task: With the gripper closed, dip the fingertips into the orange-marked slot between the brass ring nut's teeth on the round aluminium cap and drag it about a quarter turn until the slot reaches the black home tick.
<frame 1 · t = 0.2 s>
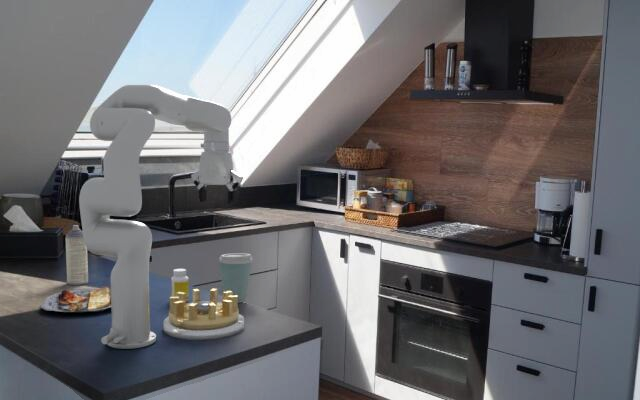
hand: (217, 202, 223), 31 cm above the worktop, tool pointing down, fingers open, 9 cm apart
supplement bottle: (180, 301, 225), on the worktop
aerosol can: (77, 283, 246), on the worktop
disposable coffee cup: (236, 300, 226), on the worktop
cap housing: (204, 327, 198), on the worktop
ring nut: (204, 308, 198), point 5 cm above the worktop, hinge at 0.0°
food plate: (84, 306, 219), on the worktop
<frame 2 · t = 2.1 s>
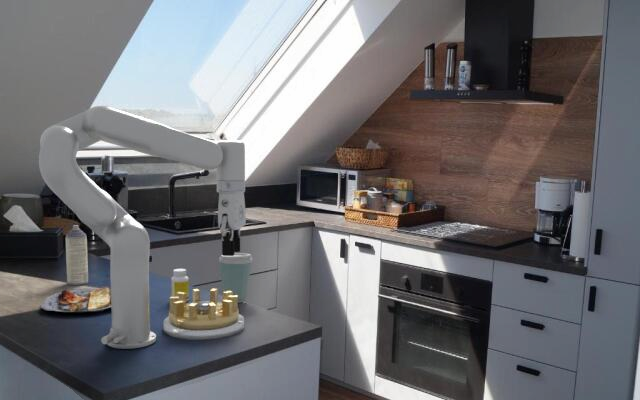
hand: (231, 252, 194), 21 cm above the worktop, tool pointing down, fingers open, 4 cm apart
nothing on the worktop moved.
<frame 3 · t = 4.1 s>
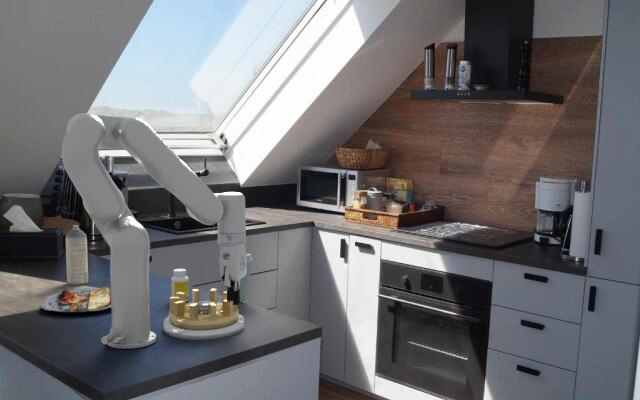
hand: (233, 303, 196), 7 cm above the worktop, tool pointing down, fingers closed
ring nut: (204, 308, 198), point 5 cm above the worktop, hinge at 1.1°, touching gripper
everything else where it was.
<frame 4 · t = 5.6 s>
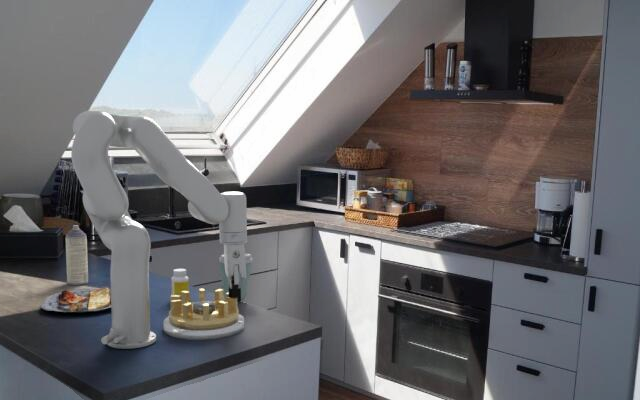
hand: (234, 301, 200), 7 cm above the worktop, tool pointing down, fingers closed
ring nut: (204, 308, 198), point 5 cm above the worktop, hinge at 24.4°, touching gripper
everything else where it was.
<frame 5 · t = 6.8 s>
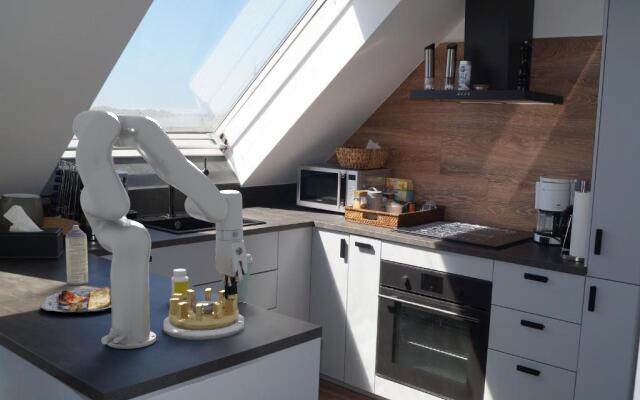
hand: (231, 298, 203), 7 cm above the worktop, tool pointing down, fingers closed
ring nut: (204, 308, 198), point 5 cm above the worktop, hinge at 47.9°, touching gripper
everything else where it was.
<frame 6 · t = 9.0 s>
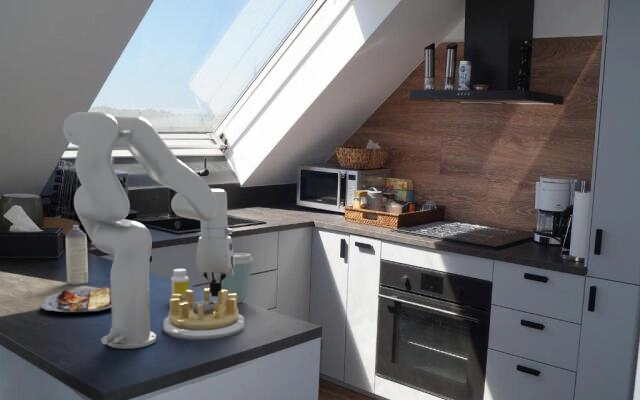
hand: (215, 295, 206), 7 cm above the worktop, tool pointing down, fingers closed
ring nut: (204, 308, 198), point 5 cm above the worktop, hinge at 86.7°, touching gripper
everything else where it was.
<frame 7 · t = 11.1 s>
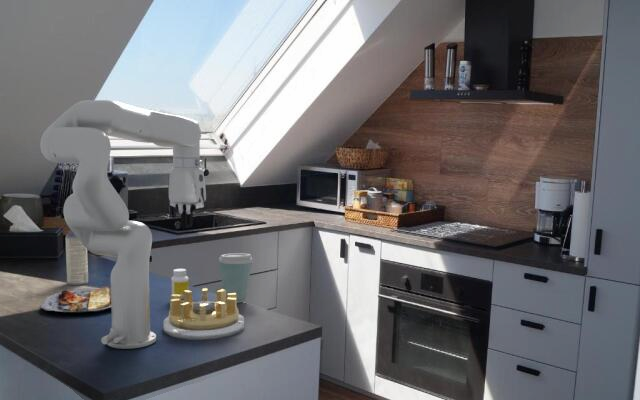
hand: (186, 227, 207), 26 cm above the worktop, tool pointing down, fingers closed
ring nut: (204, 308, 198), point 5 cm above the worktop, hinge at 90.3°
everything else where it was.
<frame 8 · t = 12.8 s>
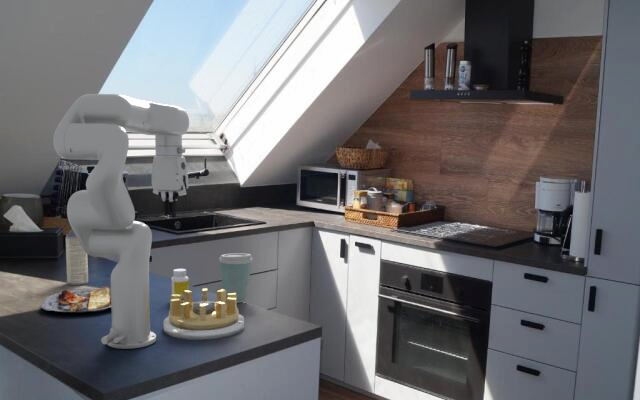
hand: (169, 214, 210), 29 cm above the worktop, tool pointing down, fingers closed
nothing on the worktop moved.
at the end: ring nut at +90° (first picture: +0°) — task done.
